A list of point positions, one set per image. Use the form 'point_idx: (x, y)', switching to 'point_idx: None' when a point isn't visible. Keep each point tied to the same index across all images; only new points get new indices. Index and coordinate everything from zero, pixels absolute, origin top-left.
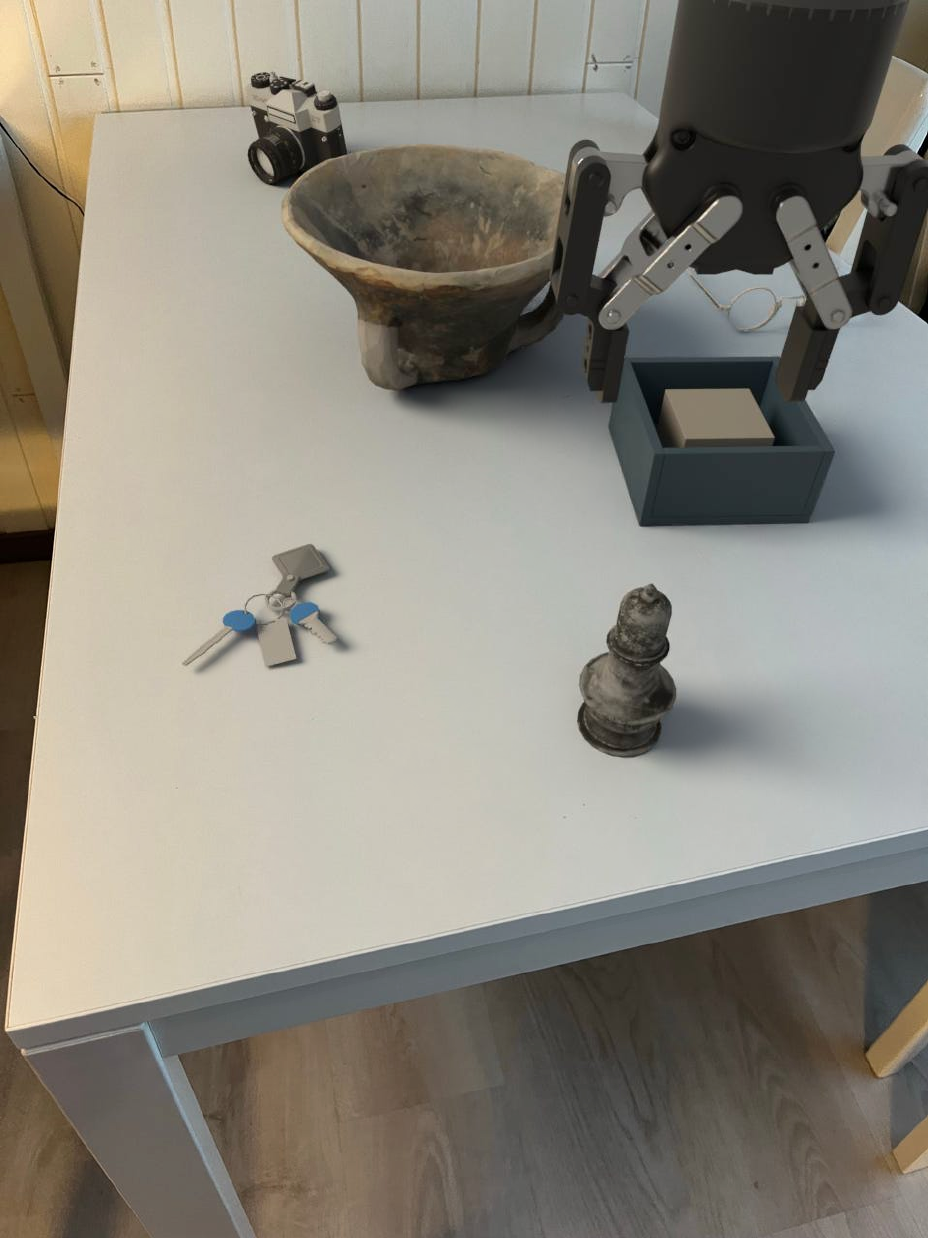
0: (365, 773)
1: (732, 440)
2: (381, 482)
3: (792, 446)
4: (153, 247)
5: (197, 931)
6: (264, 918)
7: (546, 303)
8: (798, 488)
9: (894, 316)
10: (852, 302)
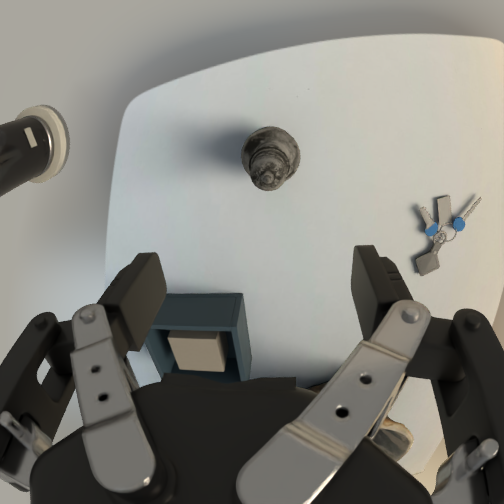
0: (408, 123)
1: (190, 337)
2: None
3: (158, 328)
4: (430, 428)
5: (467, 56)
6: (445, 55)
7: None
8: None
9: None
10: (72, 331)
